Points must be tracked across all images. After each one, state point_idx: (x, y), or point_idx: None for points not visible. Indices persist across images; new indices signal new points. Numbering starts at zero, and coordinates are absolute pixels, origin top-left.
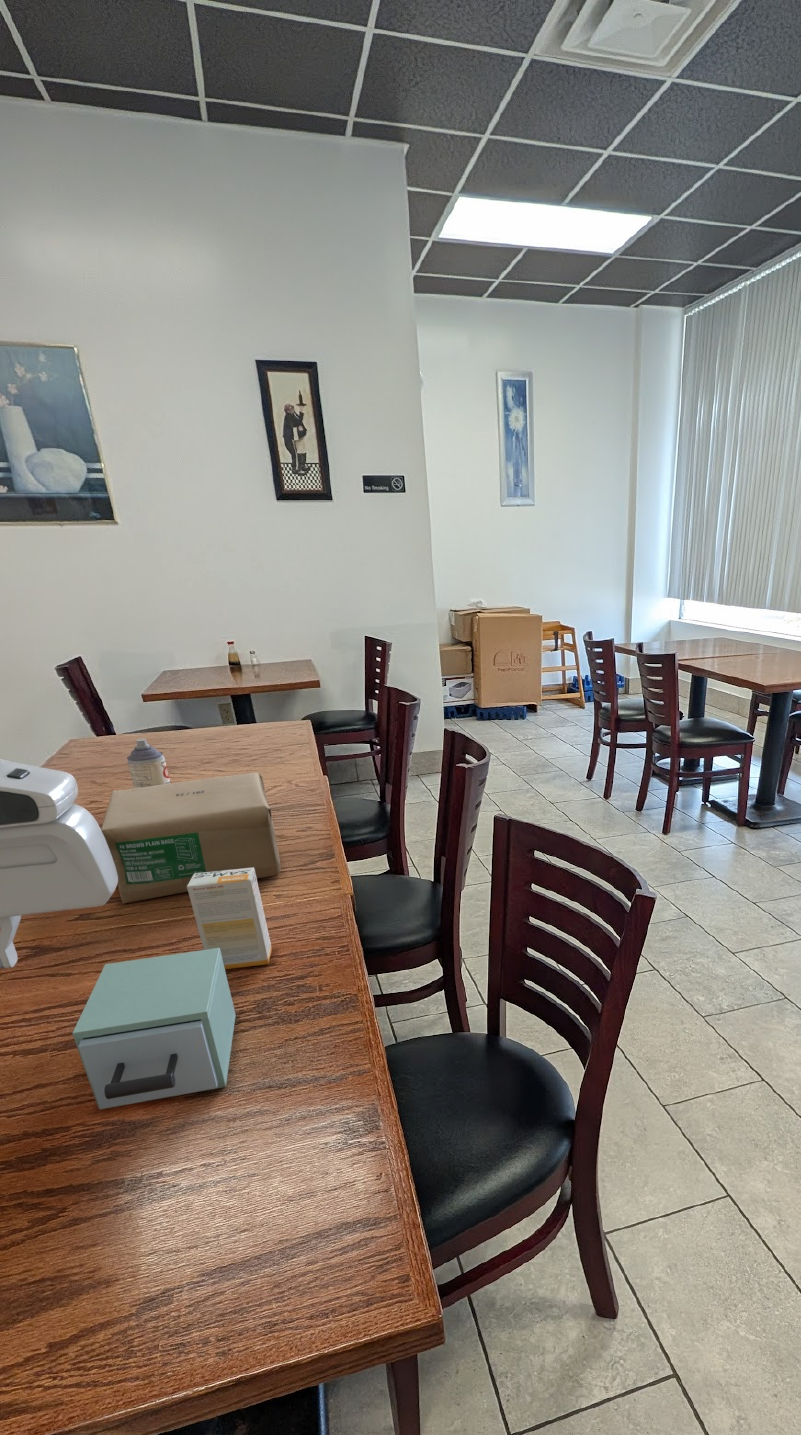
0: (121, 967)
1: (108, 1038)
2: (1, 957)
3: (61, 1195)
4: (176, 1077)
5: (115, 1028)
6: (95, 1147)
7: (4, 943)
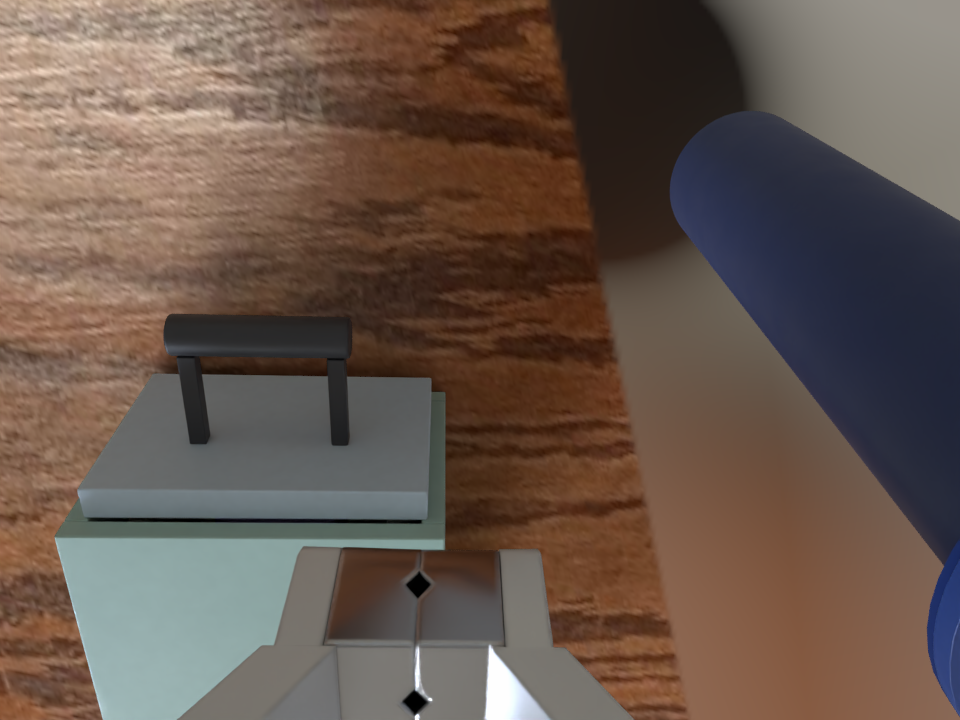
0: None
1: (348, 505)
2: (318, 596)
3: (468, 111)
4: (228, 402)
5: (326, 532)
6: (424, 261)
7: (243, 680)
